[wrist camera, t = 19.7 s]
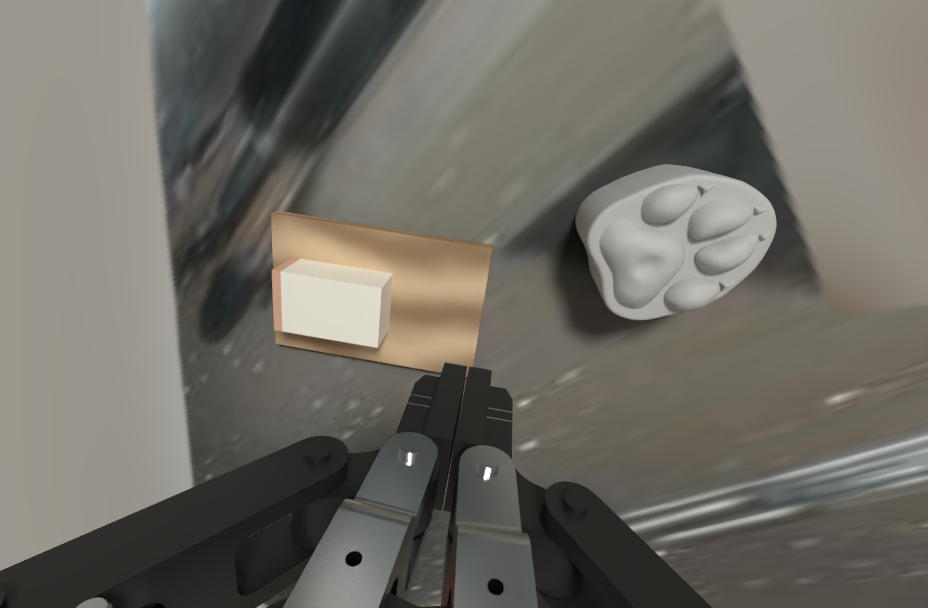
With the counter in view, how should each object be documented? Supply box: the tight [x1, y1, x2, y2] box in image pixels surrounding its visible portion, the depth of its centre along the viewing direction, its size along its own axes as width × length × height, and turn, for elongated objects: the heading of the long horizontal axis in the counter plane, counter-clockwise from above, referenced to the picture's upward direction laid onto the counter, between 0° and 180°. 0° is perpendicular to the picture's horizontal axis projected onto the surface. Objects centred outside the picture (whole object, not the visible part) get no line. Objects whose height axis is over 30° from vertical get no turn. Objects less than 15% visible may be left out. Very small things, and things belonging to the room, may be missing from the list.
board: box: [271, 211, 493, 377], centre depth 45 cm, size 14×21×1 cm, turn 82°
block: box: [272, 257, 393, 348], centre depth 42 cm, size 6×4×10 cm
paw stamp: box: [575, 165, 776, 320], centre depth 36 cm, size 10×13×9 cm
